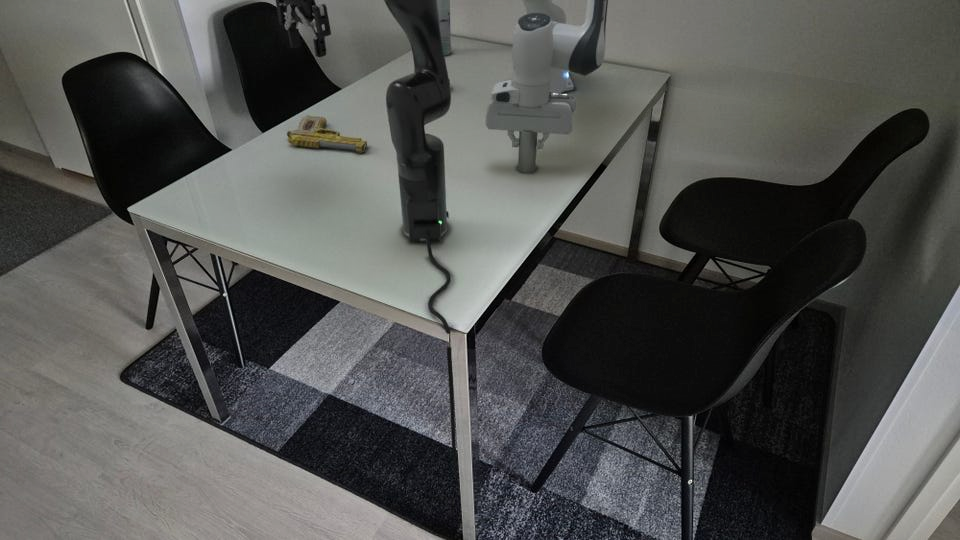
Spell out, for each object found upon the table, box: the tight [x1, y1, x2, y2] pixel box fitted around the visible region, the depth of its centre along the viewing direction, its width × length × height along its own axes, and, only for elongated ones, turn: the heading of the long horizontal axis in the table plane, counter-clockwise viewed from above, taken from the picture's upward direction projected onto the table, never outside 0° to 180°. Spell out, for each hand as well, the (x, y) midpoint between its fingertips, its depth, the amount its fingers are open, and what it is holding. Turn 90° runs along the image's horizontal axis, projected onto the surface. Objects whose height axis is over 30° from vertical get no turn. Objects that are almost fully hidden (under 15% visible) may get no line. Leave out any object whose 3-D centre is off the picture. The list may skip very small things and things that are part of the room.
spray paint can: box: [437, 0, 452, 57], centre depth 212 cm, size 6×6×20 cm
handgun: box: [286, 115, 368, 154], centre depth 166 cm, size 2×23×15 cm
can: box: [517, 131, 538, 174], centre depth 150 cm, size 4×4×11 cm
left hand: (308, 51), depth 132 cm, fingers open, 8 cm apart
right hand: (527, 147), depth 150 cm, fingers open, 5 cm apart
